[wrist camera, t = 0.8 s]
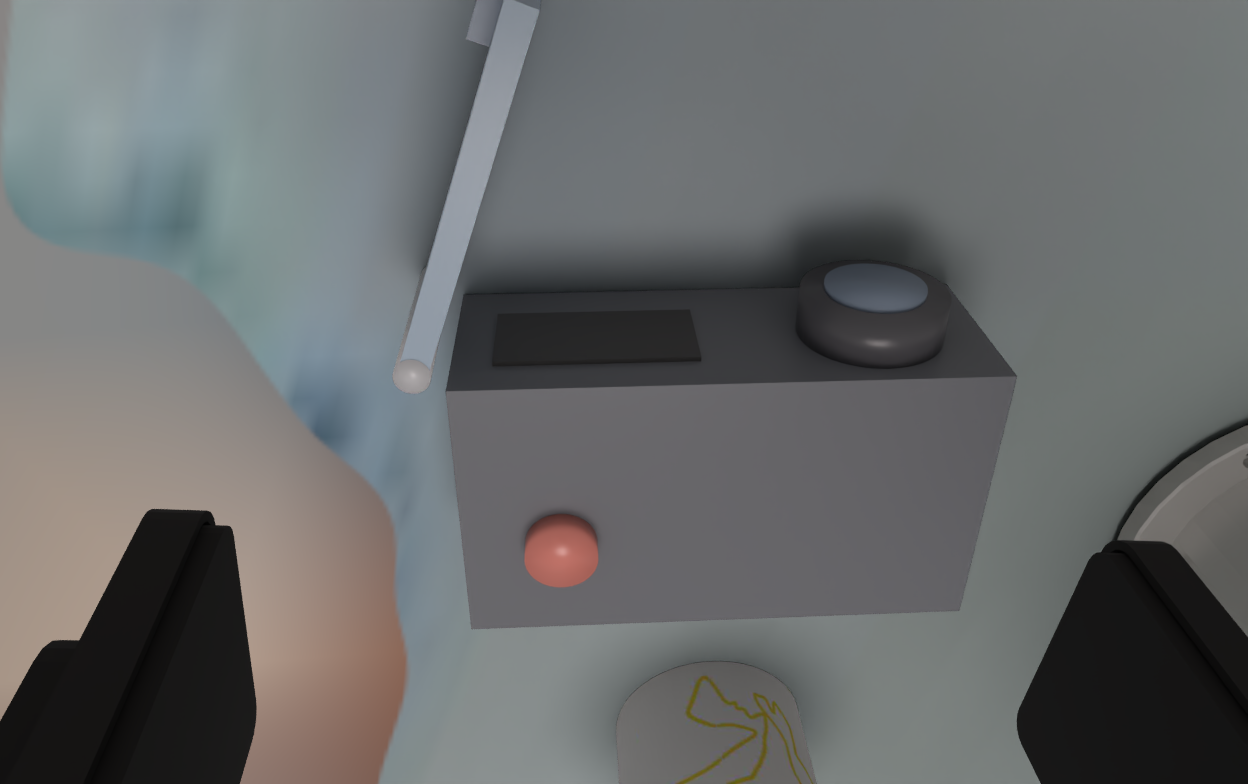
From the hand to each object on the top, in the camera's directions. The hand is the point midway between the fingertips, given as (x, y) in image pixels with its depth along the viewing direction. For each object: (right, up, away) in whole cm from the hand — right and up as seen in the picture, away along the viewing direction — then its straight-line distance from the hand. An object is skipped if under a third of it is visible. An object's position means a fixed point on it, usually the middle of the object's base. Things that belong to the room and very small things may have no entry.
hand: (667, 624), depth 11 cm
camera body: (+2, +2, +24) cm, 24 cm away
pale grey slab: (-5, +10, +18) cm, 22 cm away
